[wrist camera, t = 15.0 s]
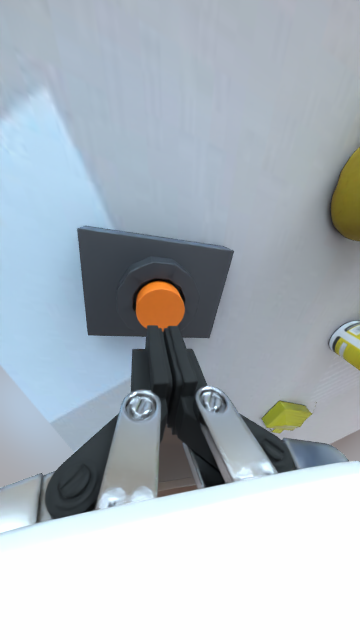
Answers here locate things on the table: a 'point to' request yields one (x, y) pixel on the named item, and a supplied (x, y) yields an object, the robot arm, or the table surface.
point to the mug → (348, 199)
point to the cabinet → (173, 467)
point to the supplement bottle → (347, 343)
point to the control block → (148, 279)
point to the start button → (159, 305)
